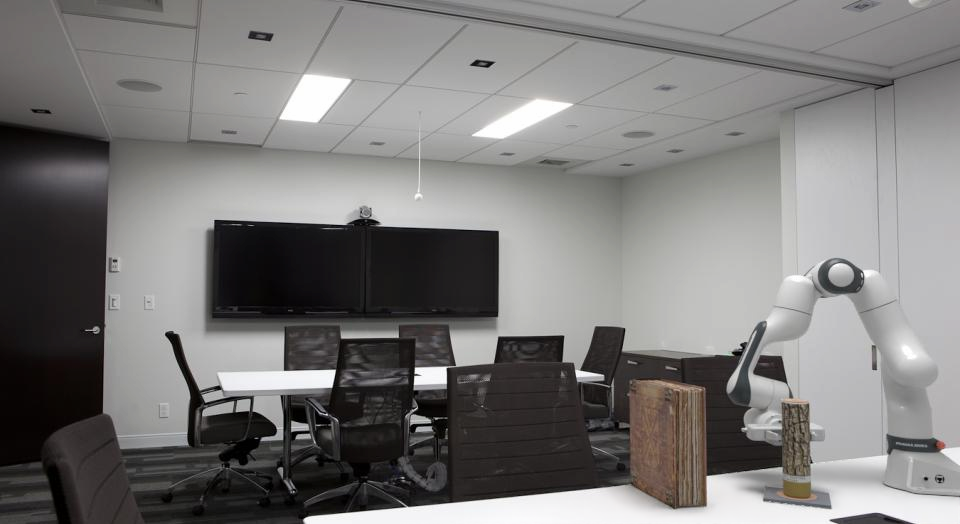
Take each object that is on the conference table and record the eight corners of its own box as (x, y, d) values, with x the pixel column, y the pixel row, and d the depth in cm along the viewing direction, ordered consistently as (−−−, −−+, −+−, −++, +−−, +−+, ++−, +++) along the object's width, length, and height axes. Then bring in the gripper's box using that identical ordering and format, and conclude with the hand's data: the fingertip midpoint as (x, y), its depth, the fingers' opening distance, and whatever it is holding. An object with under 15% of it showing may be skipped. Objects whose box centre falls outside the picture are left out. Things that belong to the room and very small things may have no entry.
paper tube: (814, 499, 181) (812, 402, 183) (786, 498, 183) (784, 401, 184) (807, 492, 188) (805, 399, 189) (780, 491, 190) (779, 398, 191)
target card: (829, 495, 189) (829, 492, 189) (831, 508, 176) (831, 505, 177) (765, 488, 196) (765, 485, 196) (763, 501, 183) (763, 497, 183)
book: (707, 507, 177) (705, 387, 179) (674, 509, 175) (673, 388, 177) (659, 483, 202) (658, 378, 204) (629, 484, 200) (629, 378, 202)
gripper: (738, 417, 200) (757, 425, 187) (810, 418, 200) (834, 426, 186) (739, 439, 200) (757, 449, 186) (811, 440, 200) (835, 450, 186)
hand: (796, 437), depth 186 cm, fingers open, 8 cm apart
